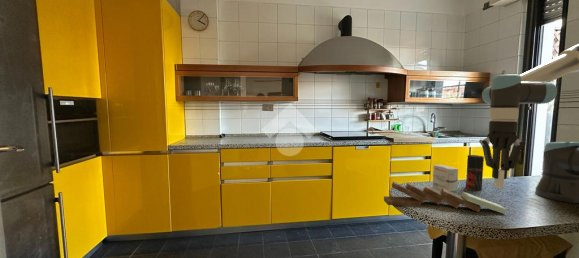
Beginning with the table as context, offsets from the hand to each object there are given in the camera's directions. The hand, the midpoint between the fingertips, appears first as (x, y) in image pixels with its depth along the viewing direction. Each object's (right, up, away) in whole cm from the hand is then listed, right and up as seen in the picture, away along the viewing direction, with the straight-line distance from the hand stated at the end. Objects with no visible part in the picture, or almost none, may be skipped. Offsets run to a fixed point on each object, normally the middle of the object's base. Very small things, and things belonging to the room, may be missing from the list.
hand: (498, 187), depth 89 cm
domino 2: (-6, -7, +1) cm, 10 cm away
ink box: (-8, -7, +19) cm, 22 cm away
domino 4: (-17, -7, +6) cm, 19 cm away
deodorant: (+11, -7, +27) cm, 30 cm away
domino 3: (-12, -7, +3) cm, 14 cm away
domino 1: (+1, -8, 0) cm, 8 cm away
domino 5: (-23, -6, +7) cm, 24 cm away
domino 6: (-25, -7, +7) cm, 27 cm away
